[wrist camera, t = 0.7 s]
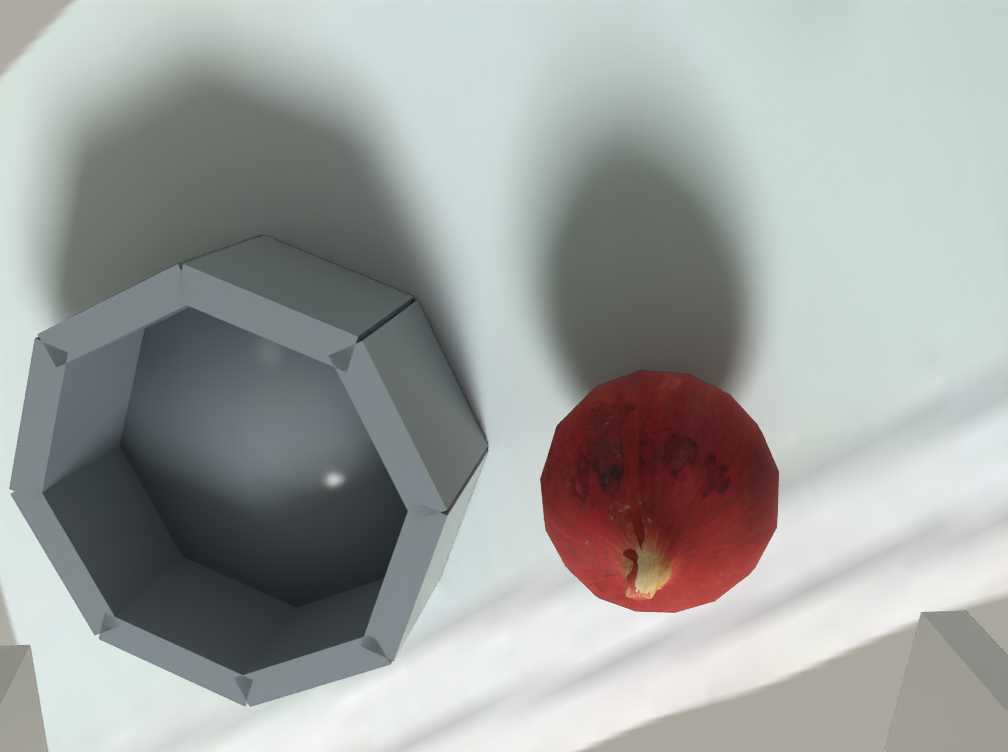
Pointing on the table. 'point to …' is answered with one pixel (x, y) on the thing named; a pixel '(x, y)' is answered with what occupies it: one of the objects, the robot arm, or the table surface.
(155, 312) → the grey octagonal bowl
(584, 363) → the table surface
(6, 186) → the table surface
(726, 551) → the onion
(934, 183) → the table surface
